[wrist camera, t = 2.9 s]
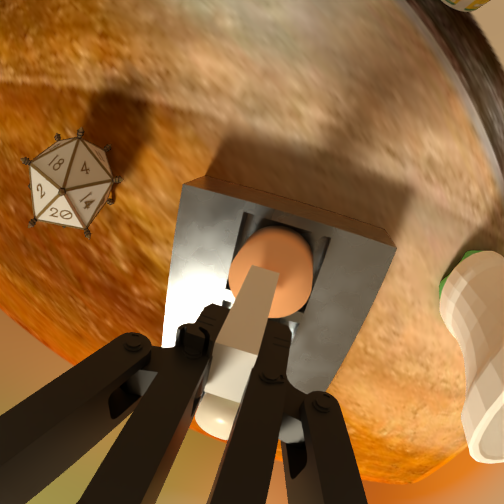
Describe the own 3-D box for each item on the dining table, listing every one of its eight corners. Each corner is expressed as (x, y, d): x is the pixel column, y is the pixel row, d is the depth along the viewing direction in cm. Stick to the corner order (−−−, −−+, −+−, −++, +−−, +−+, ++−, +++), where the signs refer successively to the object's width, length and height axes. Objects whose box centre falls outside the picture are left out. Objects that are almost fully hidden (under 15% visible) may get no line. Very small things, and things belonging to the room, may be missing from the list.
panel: (174, 365, 31) (159, 390, 27) (204, 175, 23) (183, 183, 19) (301, 406, 29) (297, 435, 26) (384, 229, 21) (397, 248, 18)
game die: (137, 160, 27) (150, 170, 19) (93, 234, 28) (88, 277, 19) (64, 114, 22) (42, 102, 14) (20, 192, 23) (-15, 219, 14)
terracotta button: (234, 280, 22) (221, 303, 19) (250, 216, 20) (238, 231, 17) (300, 301, 21) (297, 327, 18) (323, 238, 19) (323, 257, 16)
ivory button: (203, 403, 26) (192, 428, 23) (211, 370, 24) (198, 397, 21) (253, 419, 25) (246, 446, 22) (267, 388, 23) (260, 417, 20)
